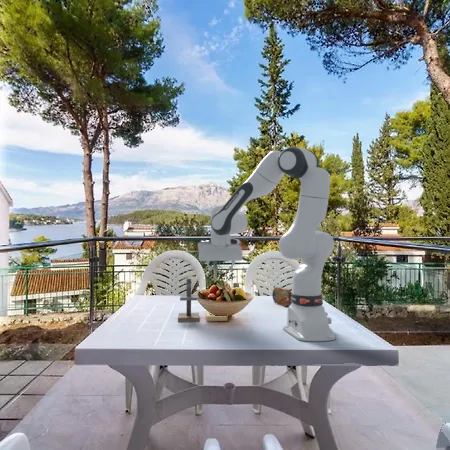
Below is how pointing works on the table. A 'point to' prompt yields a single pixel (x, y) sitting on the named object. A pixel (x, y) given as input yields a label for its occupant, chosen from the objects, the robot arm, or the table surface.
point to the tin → (282, 296)
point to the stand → (188, 304)
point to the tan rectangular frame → (215, 317)
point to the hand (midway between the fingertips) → (220, 270)
